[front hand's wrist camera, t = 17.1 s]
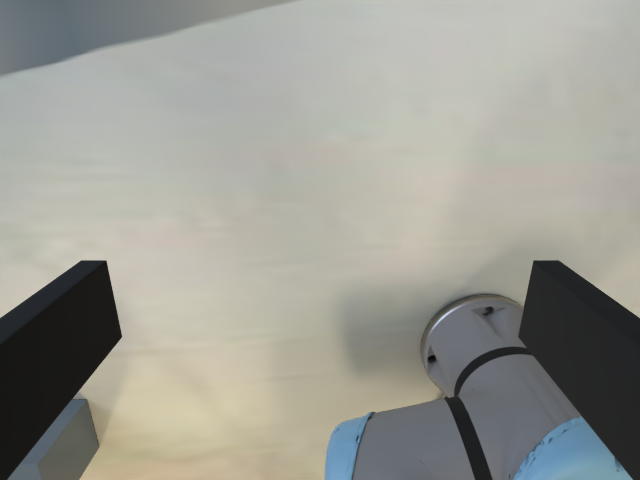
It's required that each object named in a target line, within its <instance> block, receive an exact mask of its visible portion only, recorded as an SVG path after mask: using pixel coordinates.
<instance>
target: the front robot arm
mask: <svg viewBox="0 0 640 480" xmlns="http://www.w3.org/2000/svg"><path fill="white" fill-rule="evenodd" d="M121 338H122V334H121V329H120V325H119V320H118V315H117V310H116V305H115V300H114V295H113V291H112V286H111V281H110V276H109V271H108V266H107V261H80V262H79V263H77V264H76V265H74V266H73V267H72V268H70V269H69V270H67V271H66V272H65V273H63V274H62V275H60V276H59V277H58V278H56V279H55V280H53V281H52V282H51V283H49V284H48V285H46V286H45V287H44V288H42V289H41V290H39V291H38V292H37V293H35V294H34V295H32V296H31V297H29V298H28V299H27V300H25V301H24V302H22V303H21V304H20V305H18V306H17V307H15V308H14V309H13V310H11V311H10V312H8V313H7V314H6V315H4V316H3V317H1V318H0V480H7V479H8V478H9V477H10V476H11V474H12V473H13V472H14V471H15V469H16V468H17V467H18V466H19V464H20V463H21V462H22V461H23V459H24V458H25V457H26V456H27V454H28V453H29V452H30V451H31V449H32V448H33V447H34V446H35V445H36V443H37V442H38V441H39V440H40V438H41V437H42V436H43V435H44V433H45V432H46V431H47V430H48V428H49V427H50V426H51V425H52V423H53V422H54V421H55V420H56V418H57V417H58V416H59V415H60V413H61V412H62V411H63V410H64V408H65V407H66V406H67V405H68V403H69V402H70V401H71V400H72V399H73V397H74V396H75V395H76V394H77V392H78V391H79V390H80V389H81V387H82V386H83V385H84V384H85V382H86V381H87V380H88V379H89V377H90V376H91V375H92V374H93V372H94V371H95V370H96V369H97V367H98V366H99V365H100V364H101V362H102V361H103V360H104V359H105V357H106V356H107V355H108V354H109V353H110V351H111V350H112V349H113V348H114V346H115V345H116V344H117V343H118V341H119V340H120V339H121ZM421 357H422V361H423V364H424V366H425V369H426V372H427V374H428V376H429V377H430V379H431V380H432V382H433V383H434V384H435V385H436V386H437V387H438V388H439V389H440V390H441V391H442V392H443V393H444V394H445V395H446V397H445V398H444V399H439V400H435V401H430V402H426V403H421V404H417V405H412V406H408V407H403V408H398V409H393V410H388V411H383V412H378V413H376V412H370V413H368V414H367V415H366V416H363V417H360V418H356V419H352V420H348V421H345V422H342V423H341V424H339V425H338V426H337V427H336V428H335V429H334V431H333V433H332V435H331V438H330V440H329V443H328V448H327V455H326V466H325V480H640V318H639V317H637V316H636V315H634V314H633V313H632V312H630V311H629V310H627V309H626V308H625V307H623V306H622V305H620V304H619V303H618V302H616V301H615V300H613V299H612V298H611V297H609V296H608V295H606V294H605V293H603V292H602V291H601V290H599V289H598V288H596V287H595V286H594V285H592V284H591V283H589V282H588V281H587V280H585V279H584V278H582V277H581V276H580V275H578V274H577V273H575V272H574V271H573V270H571V269H570V268H568V267H567V266H566V265H564V264H563V263H561V262H560V261H533V266H532V271H531V276H530V281H529V286H528V291H527V295H526V300H525V305H524V308H523V307H521V306H520V305H519V304H517V303H516V302H514V301H512V300H510V299H508V298H505V297H501V296H497V295H475V296H470V297H466V298H463V299H460V300H458V301H455V302H453V303H451V304H450V305H448V306H446V307H445V308H444V309H442V310H441V311H440V312H439V313H438V314H437V315H436V316H435V317H434V318H433V319H432V320H431V321H430V323H429V324H428V326H427V328H426V329H425V332H424V334H423V337H422V341H421Z"/></svg>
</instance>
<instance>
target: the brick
mask: <svg viewBox="0 0 640 480" xmlns="http://www.w3.org/2000/svg"><path fill="white" fill-rule="evenodd" d="M98 448H99V444H98V440H97V436H96V432H95V429H94V425H93V421H92V417H91V413H90V409H89V406H88V402H87V399H72V400H71V401H70V402H69V403H68V405H67V406H66V407H65V408H64V410H63V411H62V412H61V413H60V415H59V416H58V417H57V418H56V420H55V421H54V422H53V423H52V425H51V426H50V427H49V428H48V430H47V431H46V432H45V433H44V435H43V436H42V437H41V438H40V440H39V441H38V442H37V443H36V445H35V446H34V447H33V448H32V449H31V451H30V452H29V453H28V454H27V456H26V457H25V458H24V459H23V461H22V462H21V463H20V464H19V466H18V467H17V468H16V469H15V471H14V472H13V473H12V474H11V476H10V477H9V478H8V479H7V480H79V479H80V478H81V476H82V474H83V473H84V471H85V469H86V468H87V466H88V465H89V463H90V461H91V460H92V458H93V457H94V455H95V453H96V452H97V450H98Z"/></svg>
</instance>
